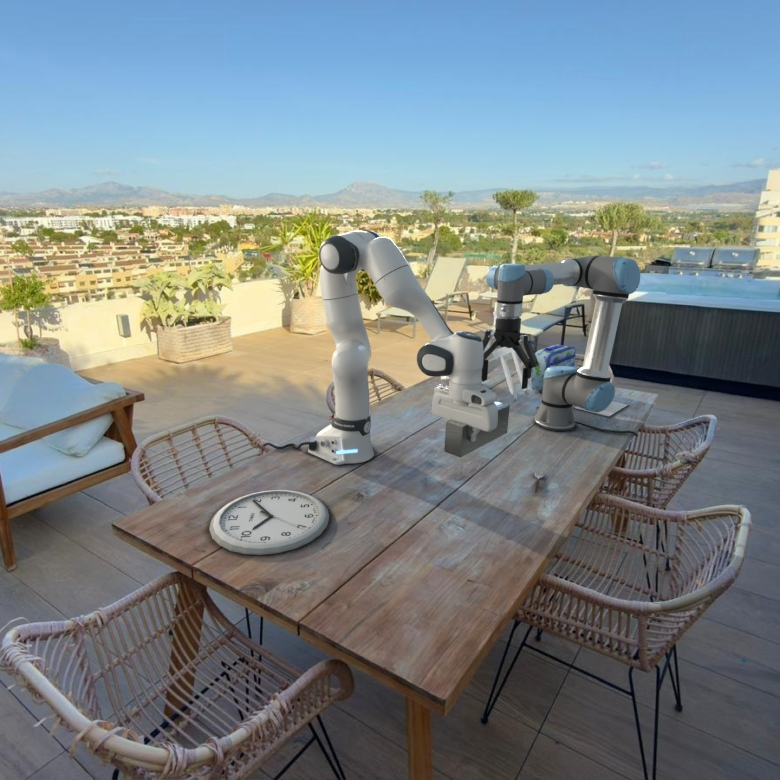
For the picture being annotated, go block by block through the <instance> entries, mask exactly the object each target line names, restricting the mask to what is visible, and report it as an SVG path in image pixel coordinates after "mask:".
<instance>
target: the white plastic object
mask: <svg viewBox="0 0 780 780" xmlns="http://www.w3.org/2000/svg"><path fill="white" fill-rule="evenodd" d="M492 315H493V319H494V321H495V322H496V318H497V317H498V316H497V315H496V310H495V311H492ZM490 347H491V345H490V344H489V343H488V344H487V346H486V348H485V350H484V353H485V352H486V351H487V350H488V349H489V348H490ZM485 360H488V375H489V374H490V373H492V372H494V371H495V370H496V369H497V368H499V367H500V366H502V370H503V373H504V376H505V380H506V383H507V386H508V390H509V393H510V394H511V395H512V397H513V398H514V399H515V400H517V392H516V391H517V390H516V388H515V385H514V381H513V378H512V375H511V371H510V369H509V365H508V361H510V360H513V363H514V366H515V369H516V372H517V376H518V380H519V382H520V385H521V387H522V377H523V367H522V366H521V362H520V358H519V356H518V355H517V353H516V352H515V351H514V350H513V348H507V347H500V348H498V349H495V350H494V351H493V352H492V353H491V354H490V355H489V356H488V357H487V359H485ZM481 377H482V371H481ZM440 381H442V383H443V384H444V386H449V376H440ZM528 387H529V386H527V388H525V389H522V391H523V393H524V395H525V396H526V397H528V396H531V395H530V390H529V388H528Z"/></svg>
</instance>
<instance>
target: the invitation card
mask: <svg viewBox="0 0 780 780" xmlns="http://www.w3.org/2000/svg"><path fill="white" fill-rule="evenodd" d="M628 406H629V404H627V403H623V402H618V401H614V400H612V402H611V403H610V405H609V406H608V407H607V408H606V409H605V410H603V411H601V412H593V411H587V410H585V409H583V408H580V407H577V406H574V407H573V409H575V410H581V411H584V412H587V413H593V414H596V415H600V416H604V417H608V418H609V417H611V416H613V415H614V414H616V413H617V412H619V411H621V410H623V409H624V408H626V407H628Z"/></svg>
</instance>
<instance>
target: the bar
mask: <svg viewBox="0 0 780 780" xmlns="http://www.w3.org/2000/svg"><path fill="white" fill-rule="evenodd" d="M494 403H495V404H496V405H497V408H498V424H497V427H496V428H495V429H494V430H492V431H490V432H486V431H483V430H480V431H479V432H478V434H477V435H476V440H475V441H474V442H472V441H469V440H468V436H469V435H470V434H472V433H473V432H474V431H472V427H470V426H468V424H465V423H461V422H458V421H455V420H452V419H451V420H448V421H446V423H445V433H444V434H445V435H444V453H447V454H450V455H453V456H456V457H458V458H462V457H465V456H467V455H468V454H470V453H472V452H475V451H476V450H478V449H480V448H481V447H484V446H486V445H487V444H489V443H491V442H493V441H494V440H497V439H498V438H500V437H503V436H504V435H506V434H508V427H509V417H510V408H511V405H510V404H507V403H503V402H500V401H497V400H496V401H495V402H494Z"/></svg>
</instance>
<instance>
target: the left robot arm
mask: <svg viewBox="0 0 780 780" xmlns="http://www.w3.org/2000/svg"><path fill="white" fill-rule="evenodd" d="M318 257H319V262H320V264H321V266H320V267H319V285H320V293H321V298H322V304H323V309H324V313H325V318H326V324H327V326H328V329H329V330H330V332H331V335H332V339H333V341H334V345H335V349H334V351H333V353H332V355H331V360H330V361H331V362H330V363H331V373H332V381H333V388H334V409H335V411H334V413H332V415H330V416H329V417H328V421H330V420H331V422H330V423H329V424H328V425H327V426H325V427H324V428H323V429H321V430H320V431H318V432H317V434H316V436H310V438H309V440H308V441H304V442H303V441H302V442H300V443H299V444H298V445H297V444H295V443H287V444H285V445H282V446H278V445H275V444H273V443H271V442H265V443H263V444H262V447H266V446H269V447H272V448H273V449H275V450H284V449H286V448H289V447H293V448H295V449H296V450H299V449H301V447H302V446H306V445H308V449H307V453H309V454H311V455H313V456H315V457H318V458H319V459H322V460H324V461H326V462H329V463H331V464H333V465H335V466H341V465H345V464H348V465H349V464H361V463H365V462H367V461H370V460H371V459H372V458H373V457H374V456H375V452H374V449H373V445H372V440H371V427H372V426H371V425H372V424H371V423H372V422H371V421H372V419H371V413H370V386H369V374H368V372H369V370H368V369H369V363H370V361H371V358H372V348H371V342H370V339H369V335H368V332H367V329H366V324H365V321H364V317H363V312H362V307H361V302H360V301H361V300H360V297H359V290H358V286H357V275H358V273H359V272H360V271H362V272H366V273H367V274H368V275H369V277H370V279H371V281H372V282H373V284H374V286H375V288H376V290H377V292H378V294H379V295H380V297H381V298H382V299H383V300H384V302H385V303H386V304H387V305H388V306H390V307H393V308H395V309H400V310H403V311H405V312H407V313H410V314H411V315H413V316H414V318H416V319H417V320H418V322H419V323H420V325H421V327H422V329H423V330H424V331H425V333H426V334H427V337H428V338H429V339H430V341H429V342H427V343H426V344H424V345H422V346H421V347H420V348H419V350H418V351H417V353H416V365H417V367H418V369H419V371H421V372H422V373H423V374H424V375H425V376H428V377H441V376H449V385H443V384H438V385H436V386H434V388H433V398H432V402H431V409H430V410H431V413H432V415H433V416H434V417H438V418H442V419H444V423H445V424H446V421H448V420H451V419H452V420H455V421H458V422H461V423H465V424H468V426H470V427H472V431H474V432H473V433H472V434H470V435H469V436H468V440H469V441H472V442H474V441H475V440H476V435H477V434H478V432H479V431H480V430H483V431H486V432H490V431H492V430H494V429H495V428H496V427H497V424H498V408H497V405H496V404H495V403H494V402H495V401H496V402H497V400H498V394H497V393H496V392H494V391H493V390H491V389H489V388H487V387H486V386H485V385H484V384H483V381H482V378H481V371H482V368H483V357H484V350H483V339H482V338H481V336H480V335H478V334H477V333H474V332H471V331H468V330H466V331H465V330H458V331H455V332H454V331H452V329H451V328H450V327H449V325H448V323H447V322H446V321H445V319H444V318H443V316H442V315H441V313H440V312H439V310H438V308H437V307H436V305H435V304H434V302H433V301H432V299H431V298H430V296H429V295H428V294H427V292H426V291H425V289H424V288H423V287H422V285H421V283H420V282H419V280H418V278H417V276H416V274H415V273H414V271H413V270H412V268H411V265H410V264H409V262H408V260H407V259H406V257H405V256H404V254H403V253H402V251H401V250H400V248H399V247H398V245H396V244H395V242H394V241H393V240H392V239H391V238H390V237H387V236H381V235H380V233H378V232H376V231H373V230H369V229H363V230H352V231H348V232H344V233H341V234H337V235H335V234H334V235H331V236H329V237H328V238H326V239H324V240H323V241H322V243H320V247H319V249H318Z"/></svg>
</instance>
